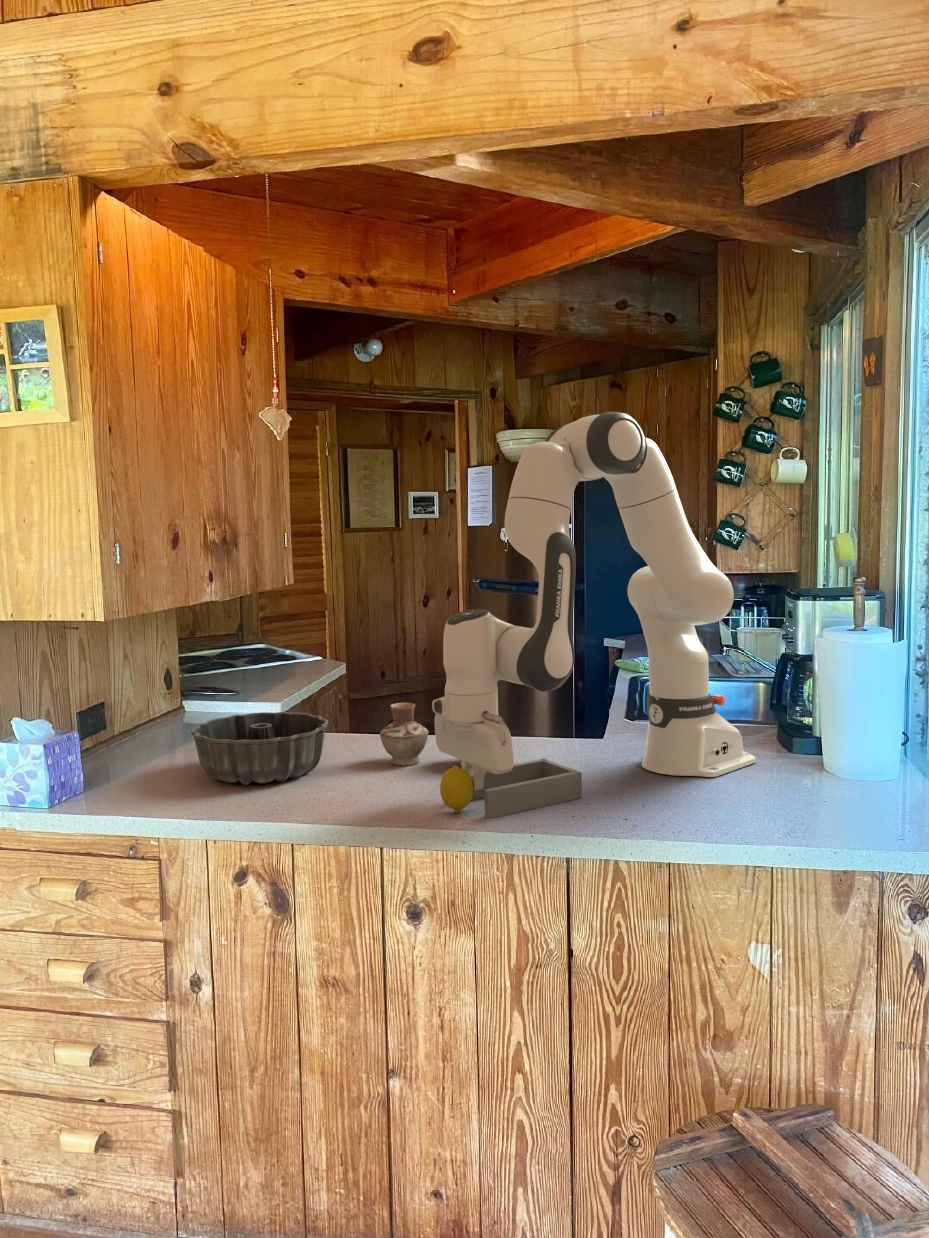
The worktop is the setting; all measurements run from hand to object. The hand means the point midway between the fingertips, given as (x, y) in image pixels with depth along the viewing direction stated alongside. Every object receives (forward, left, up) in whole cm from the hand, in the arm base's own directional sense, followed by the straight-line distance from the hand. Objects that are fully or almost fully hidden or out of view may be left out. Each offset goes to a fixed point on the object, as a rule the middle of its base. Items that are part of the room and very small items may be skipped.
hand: (474, 787), depth 155 cm
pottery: (-9, -29, -4) cm, 31 cm away
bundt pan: (+23, -44, -4) cm, 50 cm away
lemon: (+4, 0, -4) cm, 5 cm away
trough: (-9, 0, -4) cm, 9 cm away
